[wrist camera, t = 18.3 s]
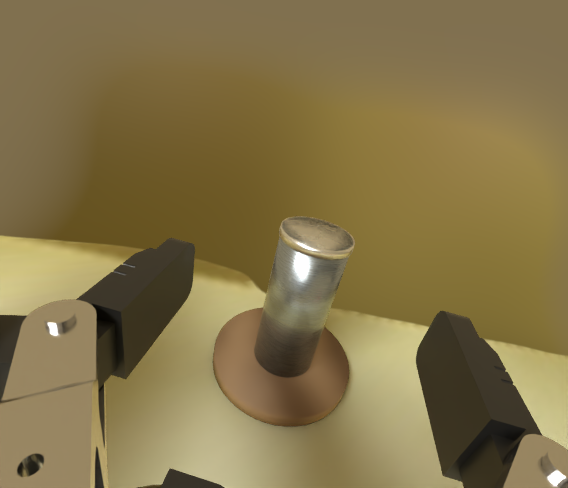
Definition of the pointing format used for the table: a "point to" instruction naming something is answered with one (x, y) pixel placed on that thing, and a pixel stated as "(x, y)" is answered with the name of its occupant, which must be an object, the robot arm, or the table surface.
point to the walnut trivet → (274, 389)
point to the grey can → (300, 293)
